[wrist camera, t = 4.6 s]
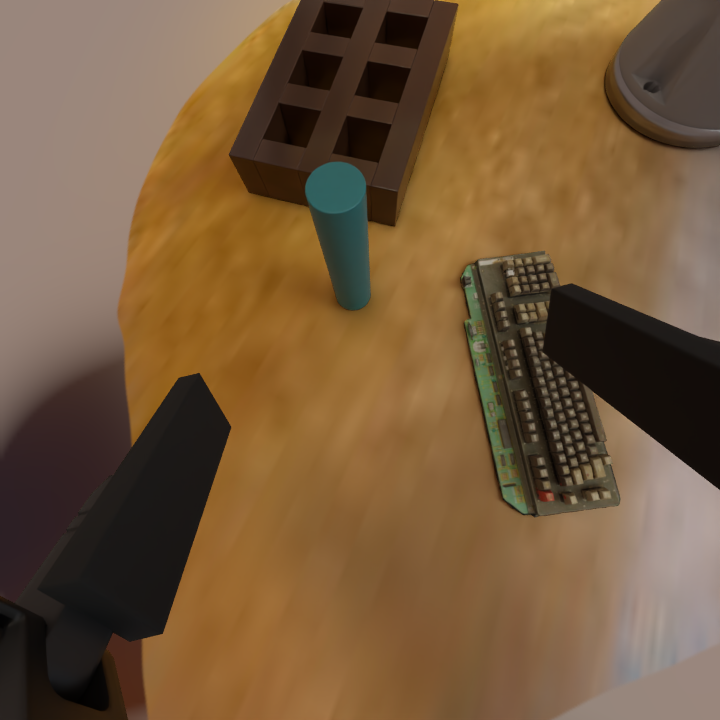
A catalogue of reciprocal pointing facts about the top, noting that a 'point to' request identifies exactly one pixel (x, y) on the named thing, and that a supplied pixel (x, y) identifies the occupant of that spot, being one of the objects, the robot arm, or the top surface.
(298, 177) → the peg board
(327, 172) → the peg
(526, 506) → the keyboard
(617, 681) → the top surface
